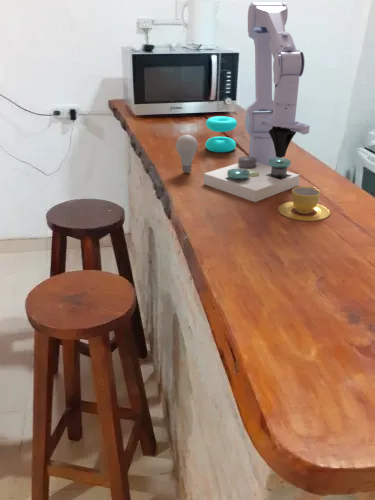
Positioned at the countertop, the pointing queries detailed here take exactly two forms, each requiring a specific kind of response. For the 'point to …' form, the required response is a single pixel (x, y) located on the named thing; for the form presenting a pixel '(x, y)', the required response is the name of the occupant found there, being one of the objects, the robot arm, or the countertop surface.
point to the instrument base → (251, 180)
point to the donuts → (221, 142)
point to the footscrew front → (238, 175)
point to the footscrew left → (279, 167)
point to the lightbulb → (186, 151)
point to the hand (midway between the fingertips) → (280, 156)
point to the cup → (304, 204)
